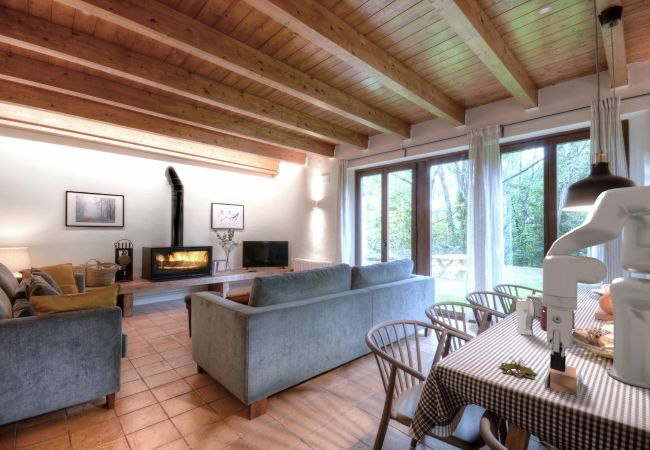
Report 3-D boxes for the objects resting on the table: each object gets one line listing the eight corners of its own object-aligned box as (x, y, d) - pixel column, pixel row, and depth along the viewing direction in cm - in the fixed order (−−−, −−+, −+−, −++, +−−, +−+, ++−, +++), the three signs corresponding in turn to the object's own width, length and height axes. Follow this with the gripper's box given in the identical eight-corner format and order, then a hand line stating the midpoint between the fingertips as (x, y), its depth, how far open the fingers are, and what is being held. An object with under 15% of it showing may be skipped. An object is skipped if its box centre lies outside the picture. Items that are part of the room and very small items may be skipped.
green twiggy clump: (542, 385, 91) (542, 370, 91) (496, 375, 97) (496, 361, 97) (536, 369, 102) (536, 355, 102) (495, 361, 107) (495, 348, 107)
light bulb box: (550, 315, 165) (550, 296, 165) (551, 318, 159) (551, 298, 159) (526, 312, 171) (526, 293, 171) (527, 315, 165) (527, 295, 165)
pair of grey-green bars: (581, 381, 93) (581, 373, 93) (579, 397, 84) (579, 388, 84) (549, 373, 98) (549, 365, 98) (544, 387, 89) (544, 378, 89)
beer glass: (538, 334, 134) (538, 300, 134) (527, 336, 132) (527, 302, 132) (522, 329, 141) (523, 297, 141) (512, 331, 138) (512, 298, 138)
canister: (570, 337, 132) (571, 296, 132) (536, 329, 142) (536, 291, 142) (578, 331, 140) (578, 292, 141) (544, 323, 150) (545, 288, 151)
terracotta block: (575, 384, 91) (575, 367, 92) (576, 395, 85) (576, 377, 85) (550, 378, 95) (550, 362, 95) (550, 388, 89) (550, 371, 89)
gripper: (575, 308, 75) (573, 384, 74) (578, 300, 86) (577, 365, 86) (538, 303, 80) (536, 373, 80) (546, 295, 91) (544, 357, 91)
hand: (557, 369), depth 83 cm, fingers closed
